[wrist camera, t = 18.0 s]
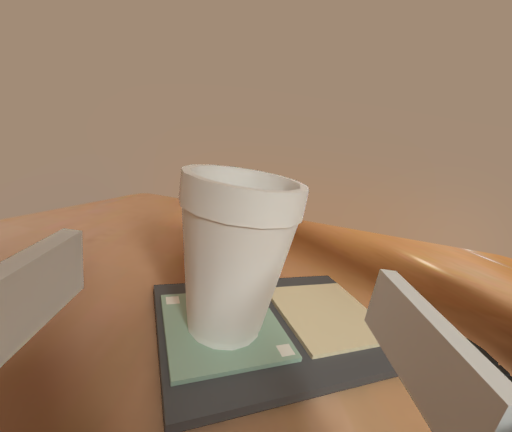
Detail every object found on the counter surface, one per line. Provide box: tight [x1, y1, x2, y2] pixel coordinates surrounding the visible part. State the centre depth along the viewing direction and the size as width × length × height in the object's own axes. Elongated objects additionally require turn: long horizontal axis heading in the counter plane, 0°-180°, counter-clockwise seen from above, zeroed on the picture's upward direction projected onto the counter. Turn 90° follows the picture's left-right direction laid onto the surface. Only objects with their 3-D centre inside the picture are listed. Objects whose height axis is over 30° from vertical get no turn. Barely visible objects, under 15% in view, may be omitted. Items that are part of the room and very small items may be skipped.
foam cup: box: [179, 165, 309, 351], centre depth 23 cm, size 10×9×13 cm
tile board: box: [153, 276, 398, 432], centre depth 27 cm, size 22×15×1 cm
